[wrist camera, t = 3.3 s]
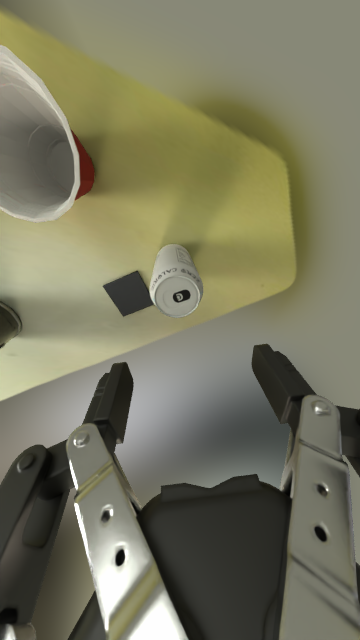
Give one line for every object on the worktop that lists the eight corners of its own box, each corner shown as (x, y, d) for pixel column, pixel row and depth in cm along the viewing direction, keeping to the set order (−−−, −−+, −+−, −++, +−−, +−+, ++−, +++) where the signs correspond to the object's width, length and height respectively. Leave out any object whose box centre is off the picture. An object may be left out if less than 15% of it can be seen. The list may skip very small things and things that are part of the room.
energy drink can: (150, 250, 30) (138, 281, 18) (184, 237, 30) (197, 260, 17) (163, 282, 34) (161, 328, 21) (194, 271, 33) (211, 312, 20)
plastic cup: (24, 193, 25) (-70, 184, 15) (30, 89, 21) (-104, -26, 10) (103, 230, 29) (67, 244, 18) (124, 147, 24) (91, 103, 13)
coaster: (123, 315, 37) (123, 316, 36) (103, 285, 33) (102, 286, 33) (155, 303, 36) (154, 304, 35) (137, 270, 32) (137, 271, 32)
